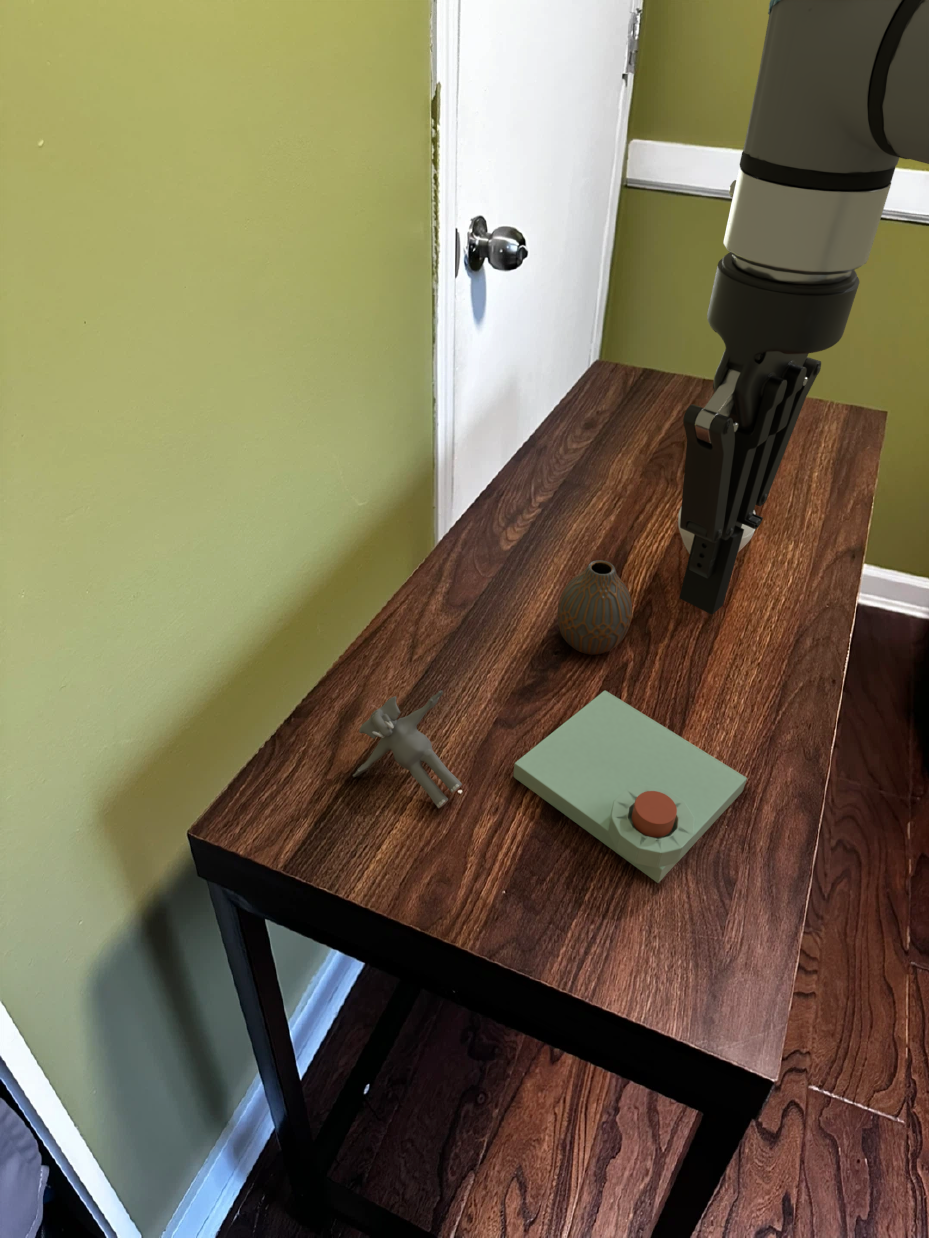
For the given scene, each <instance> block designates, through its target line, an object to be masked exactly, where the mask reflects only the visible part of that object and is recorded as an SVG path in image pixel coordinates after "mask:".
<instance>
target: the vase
mask: <svg viewBox="0 0 929 1238" xmlns="http://www.w3.org/2000/svg"><path fill="white" fill-rule="evenodd" d="M556 612H557V614H556V615H557V616H556V619H557V626H558V630H559V632H560V634H561V636H562V638H563V639H564V641H565V642H566V643H567V644H568V645H569V646H570V647H571V648H572V649H574V650H575V651H577V652H580V653H581V654H586V655H593V656H595V655H601V654H605V653H607V652H610V651H612V650H613V649H615V648H616V647H617V646H619V645H620V644H621V642H622V641H623V640H624V639H625V637H626V635H627V633H628V631H629V629H630V626H631V622H632V616H633V603H632V597H631V594H630V591H629V589H628V587H627V585H626V584H625V583H624V582H623V580H622V579H621V578H620V576H619V575H618V573H617V571H616V567H615V566H614V565H613V564H612V562H610V561H606V560H603V559H602V560H601V559H600V560H599V559H597V560H593V561H590V563H589V564H588V565H587V567H585V569H584V570H582V571H580V573H578V574H577V575H575V576H574V577H573V578H572V579H570V581H568V583H567V584H566V585H565V587H564V589H563V591H562V592H561V595H560V597H559V599H558V605H557V611H556Z"/></svg>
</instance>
